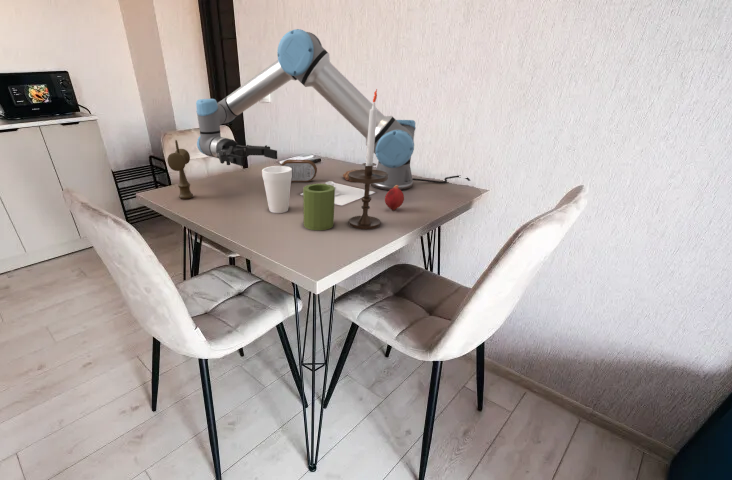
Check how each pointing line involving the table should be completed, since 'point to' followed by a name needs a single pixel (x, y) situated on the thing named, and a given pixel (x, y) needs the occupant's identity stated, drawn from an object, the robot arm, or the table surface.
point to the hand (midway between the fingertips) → (260, 158)
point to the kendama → (180, 170)
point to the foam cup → (277, 187)
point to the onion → (394, 198)
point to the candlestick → (368, 176)
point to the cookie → (347, 175)
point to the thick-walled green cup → (318, 206)
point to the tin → (301, 170)
